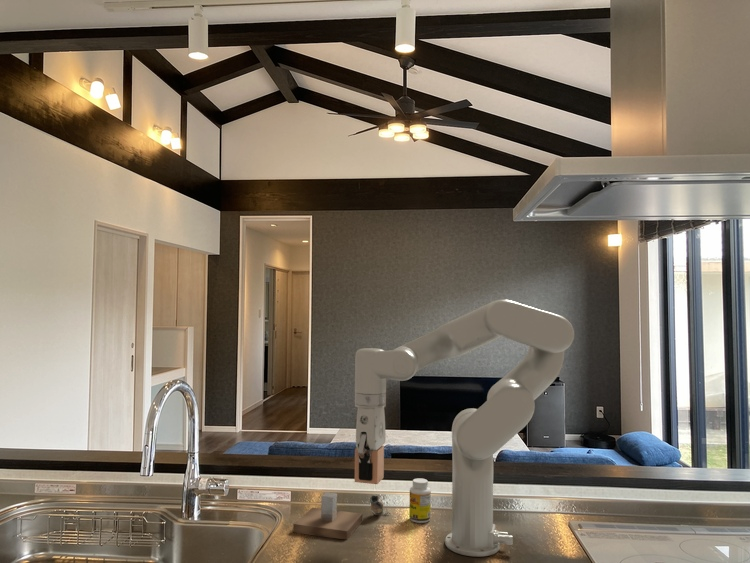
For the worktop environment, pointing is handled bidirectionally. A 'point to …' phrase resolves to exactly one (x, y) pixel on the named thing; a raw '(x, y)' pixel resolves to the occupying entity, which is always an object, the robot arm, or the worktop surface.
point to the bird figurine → (377, 506)
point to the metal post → (329, 506)
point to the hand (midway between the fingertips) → (369, 475)
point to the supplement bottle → (420, 501)
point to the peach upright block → (377, 466)
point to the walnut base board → (328, 524)
